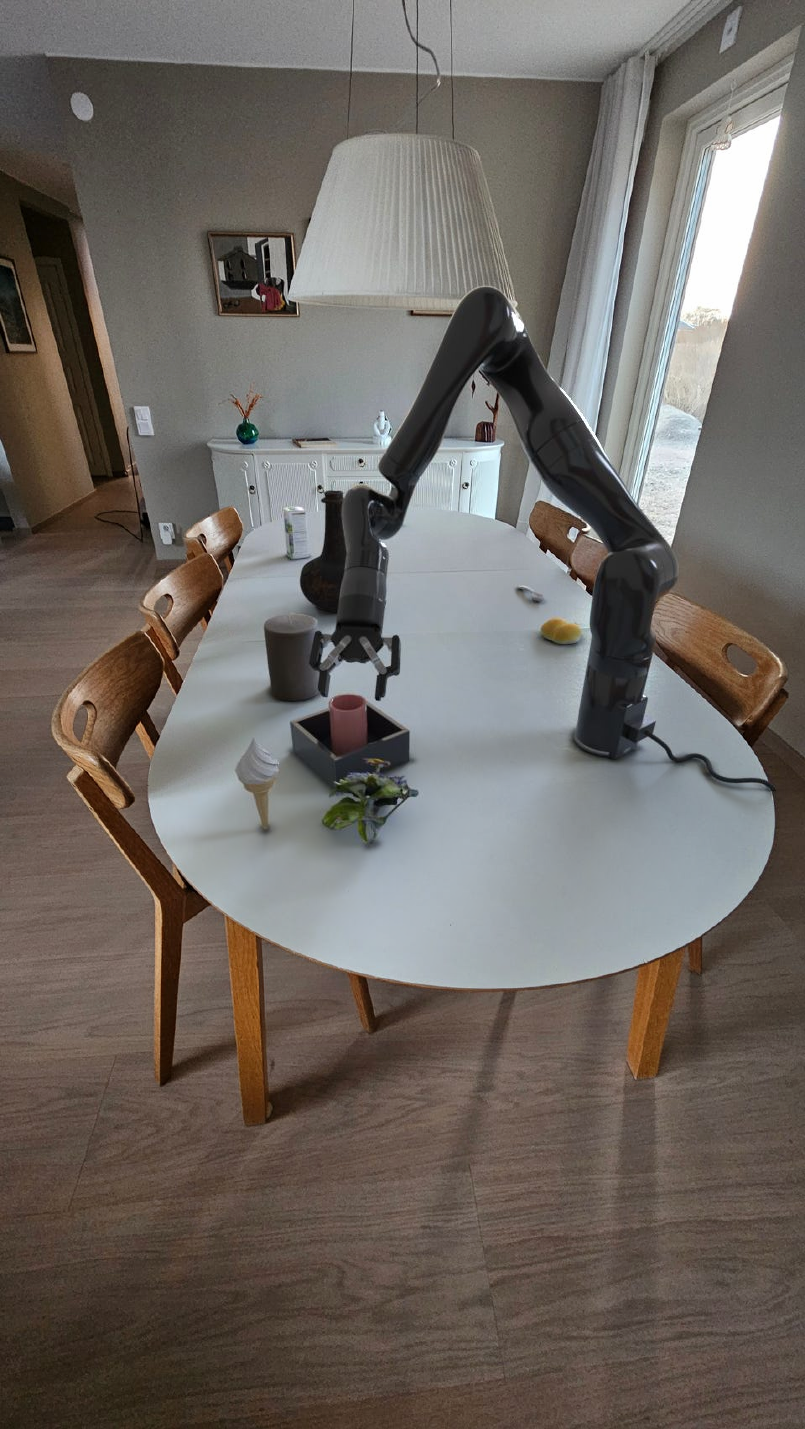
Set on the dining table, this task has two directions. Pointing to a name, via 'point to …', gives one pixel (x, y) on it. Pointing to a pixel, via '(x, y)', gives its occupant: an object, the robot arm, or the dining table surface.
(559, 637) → the bread roll
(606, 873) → the dining table surface
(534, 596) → the spoon
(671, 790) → the dining table surface
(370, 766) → the dark grey open box
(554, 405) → the robot arm
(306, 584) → the glass bottle
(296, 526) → the syrup box
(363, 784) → the passion flower
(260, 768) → the ice cream cone
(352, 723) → the cup
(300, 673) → the pillar candle
